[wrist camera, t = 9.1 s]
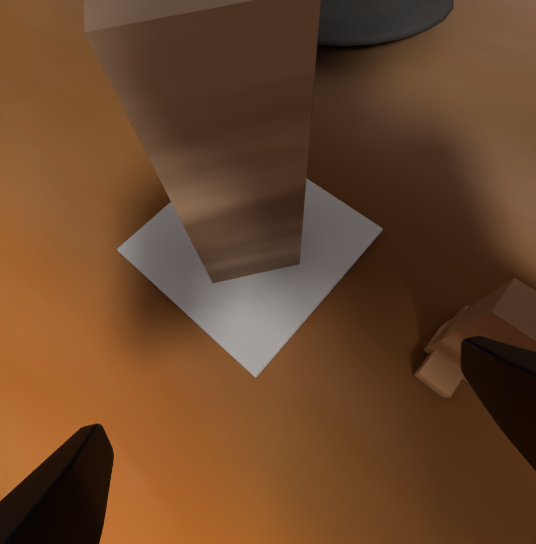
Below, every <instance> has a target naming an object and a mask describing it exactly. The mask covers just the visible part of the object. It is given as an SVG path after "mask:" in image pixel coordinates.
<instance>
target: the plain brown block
mask: <svg viewBox="0 0 536 544" xmlns="http://www.w3.org/2000/svg"><path fill="white" fill-rule="evenodd" d="M320 3H321V0H84V18H85V34H86V36H87V38H88V40H89V42H90V43H91V45H92V47H93V49H94V51H95V53H96V55H97V57H98V59H99V61H100V63H101V65H102V67H103V69H104V71H105V73H106V75H107V77H108V79H109V81H110V83H111V85H112V87H113V89H114V91H115V93H116V95H117V96H118V98H119V100H120V102H121V104H122V106H123V108H124V110H125V112H126V114H127V116H128V118H129V120H130V122H131V124H132V126H133V128H134V130H135V132H136V134H137V136H138V138H139V140H140V142H141V144H142V146H143V148H144V150H145V151H146V153H147V155H148V157H149V159H150V161H151V163H152V165H153V167H154V169H155V171H156V173H157V175H158V177H159V179H160V181H161V183H162V185H163V187H164V189H165V191H166V193H167V195H168V197H169V199H170V201H171V203H172V205H173V206H174V208H175V210H176V212H177V214H178V216H179V218H180V220H181V222H182V224H183V226H184V228H185V230H186V232H187V234H188V236H189V238H190V240H191V242H192V244H193V246H194V248H195V250H196V252H197V254H198V256H199V258H200V260H201V261H202V263H203V265H204V267H205V269H206V271H207V273H208V275H209V277H210V279H211V281H212V283H217V282H222V281H226V280H231V279H235V278H240V277H244V276H249V275H253V274H258V273H262V272H267V271H271V270H276V269H280V268H285V267H289V266H294V265H298V264H300V253H301V241H302V228H303V216H304V203H305V191H306V178H307V165H308V153H309V140H310V128H311V115H312V103H313V90H314V78H315V65H316V53H317V40H318V28H319V15H320Z"/></svg>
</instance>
